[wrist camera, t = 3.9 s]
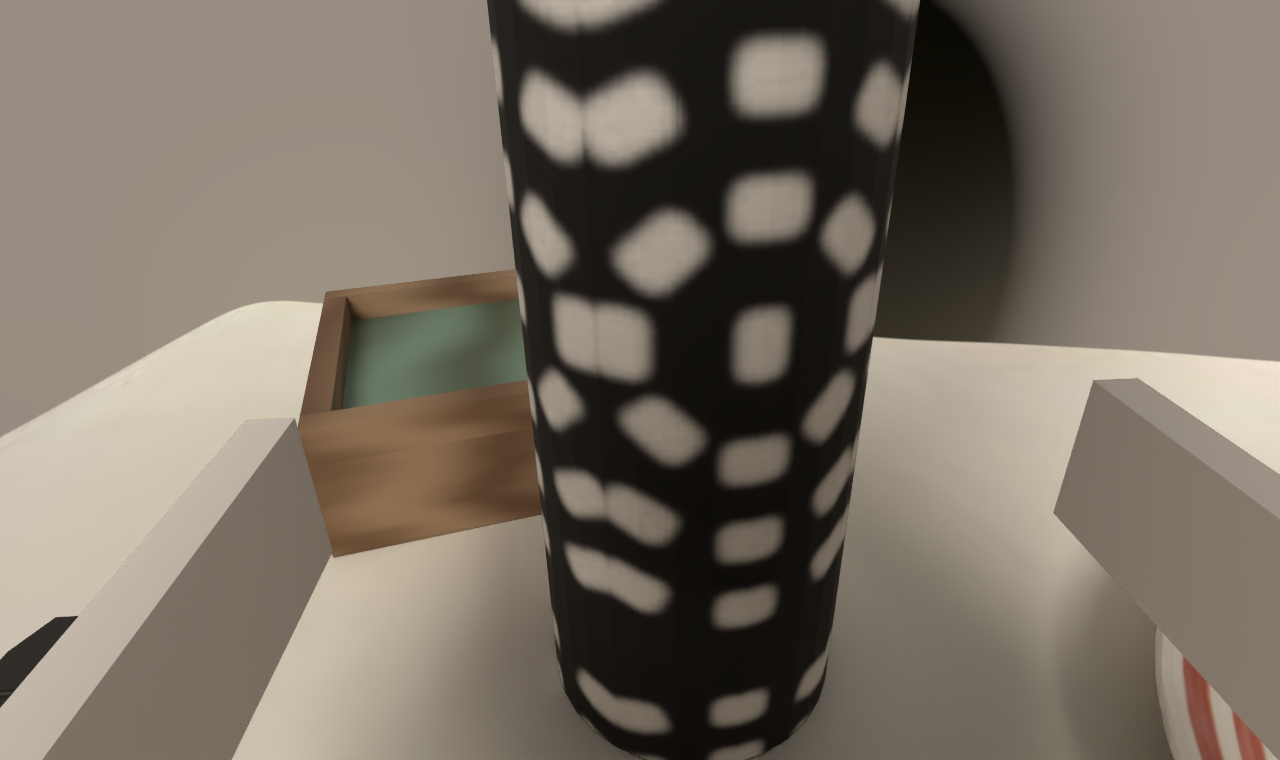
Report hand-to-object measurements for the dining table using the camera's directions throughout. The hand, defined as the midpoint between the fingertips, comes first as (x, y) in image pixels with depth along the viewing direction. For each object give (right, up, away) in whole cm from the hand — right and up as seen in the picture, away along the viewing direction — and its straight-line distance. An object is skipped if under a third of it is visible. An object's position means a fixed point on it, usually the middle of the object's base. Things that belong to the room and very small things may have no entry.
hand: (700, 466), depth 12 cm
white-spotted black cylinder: (+1, -7, +10) cm, 13 cm away
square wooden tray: (-8, -1, +22) cm, 23 cm away
